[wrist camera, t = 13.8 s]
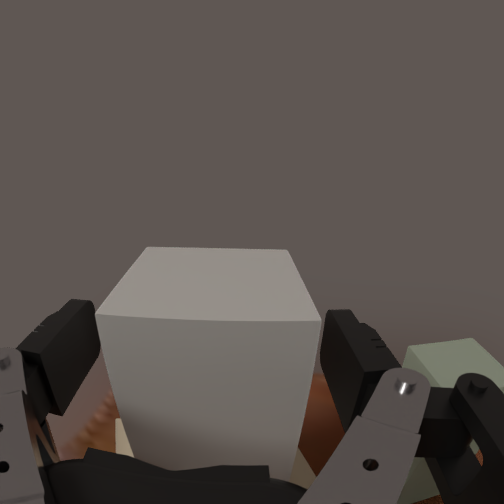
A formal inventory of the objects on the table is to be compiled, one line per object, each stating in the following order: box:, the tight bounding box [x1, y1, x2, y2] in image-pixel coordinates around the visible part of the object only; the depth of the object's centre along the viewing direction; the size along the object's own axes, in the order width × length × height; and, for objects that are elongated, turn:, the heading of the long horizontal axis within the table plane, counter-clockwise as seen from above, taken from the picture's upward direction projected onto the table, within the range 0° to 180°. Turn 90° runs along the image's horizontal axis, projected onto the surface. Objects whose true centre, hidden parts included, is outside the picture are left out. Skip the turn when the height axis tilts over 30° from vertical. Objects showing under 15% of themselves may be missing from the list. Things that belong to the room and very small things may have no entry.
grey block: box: [95, 247, 322, 482], centre depth 11 cm, size 5×5×10 cm
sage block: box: [396, 338, 504, 504], centre depth 15 cm, size 5×5×10 cm
